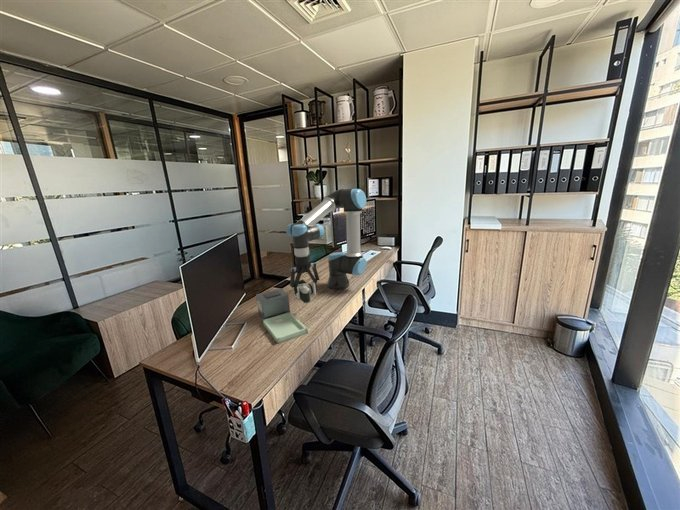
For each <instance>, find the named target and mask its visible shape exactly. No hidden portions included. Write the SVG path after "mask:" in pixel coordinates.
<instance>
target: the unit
mask: <svg viewBox="0 0 680 510" xmlns="http://www.w3.org/2000/svg"><path fill="white" fill-rule="evenodd" d="M255 296H256V304H257V311H258V312H257V313H258V315H259V317H260V318H261V319H262V321H263V320H265V319H268V318H271V317H275V316H278V315H281V314H285V313H288V312H290V313H291V306H290V296H289V294H288V293H287V292H286V291H284V290H283V289H282V288H276V289H272V290H269V291H265V292H261V293H257V294H255Z"/></svg>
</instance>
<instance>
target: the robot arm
mask: <svg viewBox="0 0 680 510" xmlns="http://www.w3.org/2000/svg"><path fill="white" fill-rule="evenodd" d="M366 204H367V196H366V194H365V191H363V190H362V189H360V188H345V189H344V188H342V189H341V188H340V189H337V190H334V191H333V192H331V193H329V194H328V195H326V196H325V197H324V198H323V200H322V201H321V203H319V204H318V205H317V206H315V207H314V208H313V209H312V210H310V211H309V212H308V213H307V214H305V215H304V216H303V217H302V218H300V219H299V220H298V221H296V222H295V223H289V224H288V225H287V226H286V227H285V231H286V235H287V236H288V237H290V238H292V243H293V245H292V246H293V253H294V262H295V266H294V267H290V268H289V270H290V281H289V286H290V287H291V288H292V289H293V291H294V294H295V293H296V295H297V296H296V295H295V296H296V299H298V300H300V293H299V287H298V283H299V281H300V280H301V276H302V275H303V274H305V273H307V274H308V276H309V277H310V279H311V280H312V281H311V283H310V284H311V285H312V287H313V293H312V295H316V294H317V291H316V288H317V287H318V284H317V283H318V281H320V276H319V273H318V270H317V263H315V262H311V256H310V247H309V242H312V241H315V240H319V239H320V238H323V237H324V236H325V232H326V231H325V228H324V226H323V225H322V224H321V223H319V222H320V221H321V220H322V219H323V218H324V217H326V216H327V215H329V213H330V212H334V211H335V210H338V209H343V212H344V214H345V217H346V218H345V219H346V221H345V222H346V252H344V251H337V252H334V253H330V254H328V257H327V258H328V260H327V261H328V273H329V274H328V275H329V277H328V280H327V288H328V289H331V290H344V289H347V288H348V287H350V280H349V278H348V275H352V276H358V277H359V276H362V275H363V274H364V273H365V271H366V269H367V266H368V264H367V259H366V258H365V257H364V254H363V252H362V251H361V214H362V212H363V209H364V208H365V207H366ZM310 268H311V269H312V271H313V273H312V271H311V269H310Z"/></svg>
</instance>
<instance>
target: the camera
mask: <svg viewBox="0 0 680 510" xmlns="http://www.w3.org/2000/svg"><path fill="white" fill-rule="evenodd" d="M298 287H299V293H300V299H299V300H300V302H302V303H303V304H305V305H306V304H309V303H311V295H313V287H312V283H308V282H307V281H305V280H304V279H300V280H299V283H298ZM294 296H296V297H297V295H296V293H295V292H294Z"/></svg>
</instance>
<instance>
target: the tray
mask: <svg viewBox="0 0 680 510" xmlns="http://www.w3.org/2000/svg"><path fill="white" fill-rule="evenodd" d="M262 325H263V326H264V329H266V331H268V333H269V334H270V336H271V337H272V339H274V341H275V343H277V345H279V344H281V343H284V342H287V341H291V340H292V339H296V338H298V337H301V336H304V335H307V334H308V328H307V326H306V325H304V324H303V323H302V322H301V321H300V320H299V319H298V318H297V317H296V316H295V315H294V314H293V313H292V312H291V311H290V312H288V313H285V314H281V315H278V316H275V317H271V318H268V319H265V320H263V319H262Z"/></svg>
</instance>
